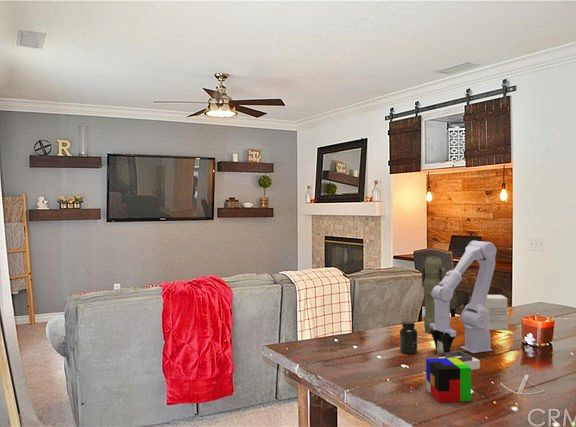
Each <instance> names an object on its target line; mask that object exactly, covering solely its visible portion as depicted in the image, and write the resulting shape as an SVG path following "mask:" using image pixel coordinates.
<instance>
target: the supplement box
mask: <svg viewBox="0 0 576 427" xmlns="http://www.w3.org/2000/svg"><path fill="white" fill-rule="evenodd" d="M508 301H509V299H508V298H507V297H506V296H505V295H502V294H488V295H487V299H486V303H485V308H486V309H487V311H488V324H487V326H486V328H488V329H489V331H494V330H495V331H508V330H509V323H508V322H509V321H508V320H509V319H508V315H509V314H508V311H509V310H508V308H509V306H508V303H509V302H508Z"/></svg>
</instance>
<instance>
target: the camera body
mask: <svg viewBox="0 0 576 427" xmlns="http://www.w3.org/2000/svg"><path fill="white" fill-rule="evenodd" d="M455 357H456V358H458V359H459V360H461V361H462V362H463V363H465V364H466V365H467V366H469V367H470V368H471V371H474V370H479V369H481V362H480V361H481V360H480V359H478V358H475V357H474V356H472V355H469V354H468V353H465V352H463V351H461V350H459V351H450V352H448V353H445V356H440V357H437V358H455Z"/></svg>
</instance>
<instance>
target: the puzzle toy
mask: <svg viewBox="0 0 576 427" xmlns="http://www.w3.org/2000/svg"><path fill="white" fill-rule="evenodd" d="M425 368H426V369H425V371H426V373H425V374H426V379H425V380H426V381H425V382H426V391H427V390H428V391H429V392H430V393H431V396H432V397H433V398H434V399H435V400H436V401H437V402H438V403H453V402H466V401H467V402H472V370H471V368H470V367H469V366H467V365H466V364H465V363H463V362H462V361H461V360H459V359H458V358H456V357H455V358H438V357H437V358H435V357H434V358H433V357H432V358H426V359H425ZM428 391H427V392H428ZM429 392H428V393H429ZM430 393H429V394H430Z"/></svg>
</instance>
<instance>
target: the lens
mask: <svg viewBox="0 0 576 427" xmlns="http://www.w3.org/2000/svg"><path fill="white" fill-rule="evenodd" d="M436 353H437V355H438V354H439V356H442V355H445V352H444V350H443V342H442V338H441V337H440V338H437V352H436ZM447 353H449V352H447Z"/></svg>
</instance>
